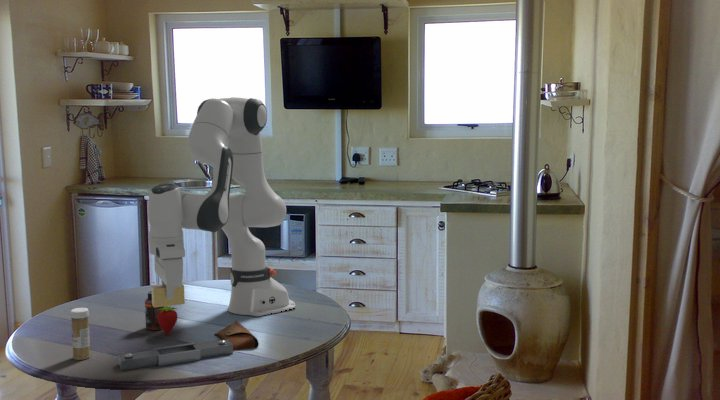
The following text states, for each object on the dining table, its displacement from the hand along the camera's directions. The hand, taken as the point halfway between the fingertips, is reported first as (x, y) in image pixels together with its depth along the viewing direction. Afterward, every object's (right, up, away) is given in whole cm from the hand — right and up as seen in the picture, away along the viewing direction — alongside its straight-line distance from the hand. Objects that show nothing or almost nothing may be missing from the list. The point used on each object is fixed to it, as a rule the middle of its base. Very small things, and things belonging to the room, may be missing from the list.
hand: (168, 296), depth 193 cm
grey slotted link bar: (+2, -17, +1) cm, 17 cm away
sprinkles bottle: (-24, -17, +2) cm, 29 cm away
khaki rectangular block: (0, -2, 0) cm, 2 cm away
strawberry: (-6, -14, +22) cm, 27 cm away
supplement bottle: (-11, -14, +28) cm, 33 cm away
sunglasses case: (+15, -16, +17) cm, 28 cm away
